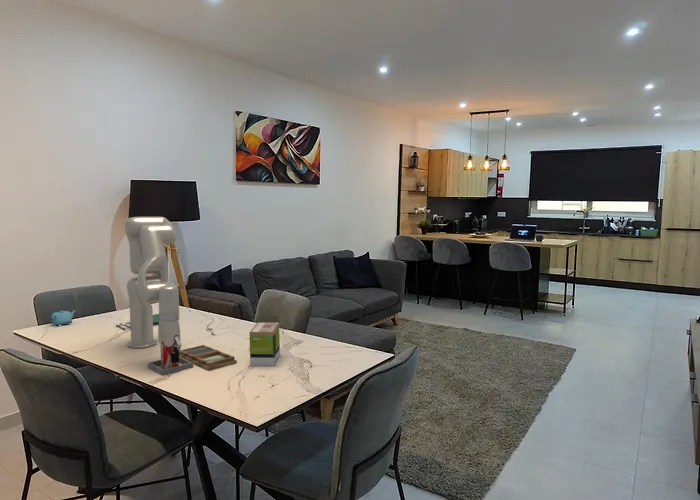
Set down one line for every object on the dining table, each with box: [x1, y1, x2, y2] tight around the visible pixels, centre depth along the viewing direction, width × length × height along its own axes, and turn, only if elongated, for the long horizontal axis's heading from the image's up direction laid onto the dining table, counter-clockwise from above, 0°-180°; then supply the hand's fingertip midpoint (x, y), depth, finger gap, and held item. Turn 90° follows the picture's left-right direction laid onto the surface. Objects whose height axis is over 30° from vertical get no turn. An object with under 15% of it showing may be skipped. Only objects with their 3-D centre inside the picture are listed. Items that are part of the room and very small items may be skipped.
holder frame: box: [147, 357, 194, 376], centre depth 194 cm, size 13×13×2 cm
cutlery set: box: [115, 313, 159, 331], centre depth 263 cm, size 20×30×2 cm, turn 135°
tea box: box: [249, 322, 281, 367], centre depth 204 cm, size 15×10×15 cm
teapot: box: [51, 309, 76, 326], centre depth 258 cm, size 12×6×8 cm, turn 139°
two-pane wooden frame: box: [180, 344, 238, 372], centre depth 204 cm, size 25×13×3 cm, turn 48°
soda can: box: [160, 341, 181, 369], centre depth 194 cm, size 7×7×12 cm
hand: (170, 359), depth 194 cm, fingers closed on soda can, 6 cm apart
